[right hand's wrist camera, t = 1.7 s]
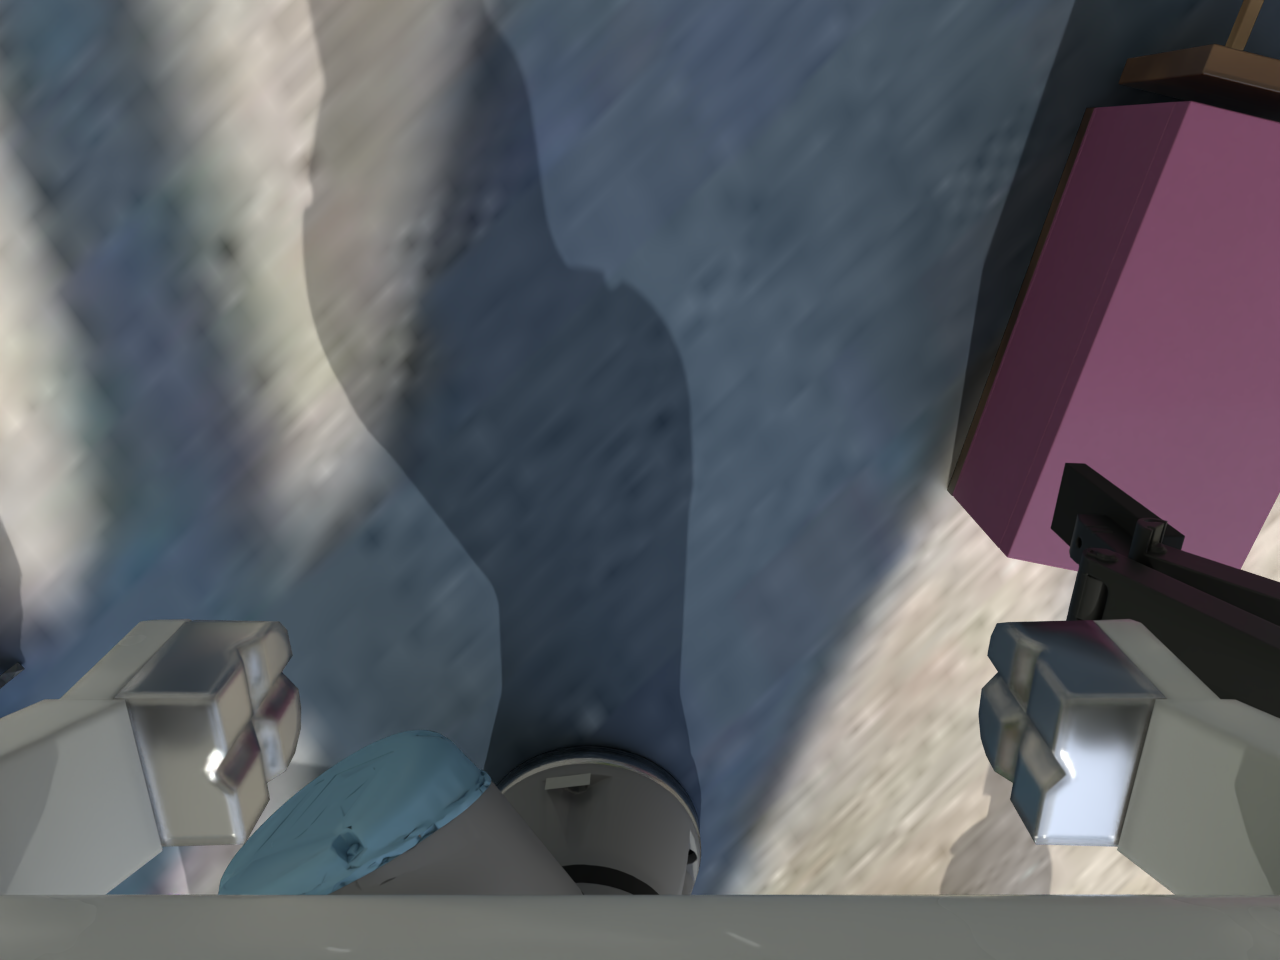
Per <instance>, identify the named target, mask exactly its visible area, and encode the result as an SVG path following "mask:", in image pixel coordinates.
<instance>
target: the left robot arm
mask: <svg viewBox="0 0 1280 960" xmlns="http://www.w3.org/2000/svg"><path fill="white" fill-rule="evenodd" d="M1167 522H1168V521H1165V520H1162V519H1161V518H1160V517H1158V516H1157V515H1155V514H1154V513H1153V512H1151V511H1150V510H1149V509H1147V508H1146V507H1144V506H1143V505H1142V504H1140V503H1139V502H1138V501H1136V500H1135V499H1133V498H1132V497H1131V496H1129V495H1128V494H1127V493H1125V492H1124V491H1122V490H1121V489H1120V488H1118V487H1117V486H1116V485H1114V484H1113V483H1111V482H1110V481H1109V480H1107V479H1106V478H1105V477H1103V476H1102V475H1100V474H1099V473H1098V472H1096V471H1095V470H1094V469H1092V468H1091V467H1089V466H1088V465H1087V464H1085V463H1065V466H1064V471H1063V475H1062V480H1061V484H1060V488H1059V493H1058V497H1057V502H1056V506H1055V511H1054V515H1053V520H1052V524H1051V529H1052V530H1053V531H1054V532H1055V533H1056V534H1057V535H1058V536H1059V537H1060V538H1061V539H1062V540H1063V541H1064V542H1065V543H1066V544H1067V545H1069V546H1070V549H1069V554H1070V558H1071V559H1072V560H1073V561H1075V562H1076V563H1077V564H1079V569H1078V573H1077V577H1076V581H1075V585H1074V589H1073V594H1072V598H1071V602H1070V606H1069V611H1068V615H1067V619H1066V621H1080V620H1114V619H1131V620H1134V621H1137V622H1140V623H1142V624H1143V625H1144V626H1145V627H1146V628H1147V629H1148V630H1149V631H1150V632H1151V633H1152V634H1153V635H1154V636H1155V637H1156V638H1157V639H1158V640H1159V641H1161V642H1162V643H1163V644H1164V645H1165V646H1166V647H1167V648H1168V649H1169V650H1170V651H1171V652H1172V653H1173V654H1174V655H1175V656H1176V657H1177V658H1178V659H1179V660H1180V661H1181V662H1182V663H1183V664H1184V665H1185V666H1186V667H1187V668H1189V669H1190V670H1191V671H1192V672H1193V673H1194V674H1195V675H1196V676H1197V677H1198V678H1199V679H1200V680H1201V681H1202V682H1203V683H1204V684H1205V685H1206V686H1207V687H1208V688H1209V689H1210V690H1211V691H1212V692H1213V693H1214V694H1216V695H1217V696H1218V697H1219V698H1220V699H1233V700H1238V701H1240V702H1242V703H1245V704H1247V705H1249V706H1252V707H1254V708H1256V709H1259V710H1261V711H1263V712H1266V713H1268V714H1270V715H1273V716H1275V717H1277V718H1280V582H1277V581H1274V580H1271V579H1268V578H1265V577H1262V576H1259V575H1256V574H1253V573H1249V572H1246V571H1243V570H1240V569H1237V568H1234V567H1231V566H1228V565H1225V564H1222V563H1219V562H1216V561H1213V560H1210V559H1207V558H1204V557H1201V556H1198V555H1195V554H1191V553H1188V552H1185V551H1182V550H1181V549H1182V545H1183V542H1184V538H1185V536H1184V535H1183V534H1182V533H1180V532H1179V531H1178V530H1176V529H1175V528H1173V527H1172V526H1171V525H1169V524H1168V523H1167ZM700 860H701V842H700V830H699V823H698V818H697V814H696V811H695V808H694V806H693V803H692V802H691V800H690V798H689V796H688V795H687V793H686V792H685V790H684V789H683V788H682V786H681V785H680V784H679V783H678V782H677V781H676V780H675V779H674V778H673V777H672V776H671V775H670V774H669V773H667V772H666V771H665V770H663V769H662V768H661V767H659V766H658V765H656V764H654V763H653V762H651V761H649V760H647V759H645V758H643V757H640V756H638V755H635V754H633V753H629V752H626V751H623V750H618V749H614V748H608V747H599V746H577V747H567V748H562V749H557V750H553V751H550V752H546V753H544V754H541V755H538V756H536V757H534V758H532V759H530V760H528V761H526V762H524V763H522V764H521V765H519V766H518V767H516V768H515V769H514V770H512V771H511V772H510V773H509V774H508V775H506V776H505V777H504V778H503V779H502V780H501V782H500V783H499V784H498V785H497V786H496V785H495V784H494V783H493V782H492V781H491V777H490V776H489V775H488V774H487V772H485V771H483V770H480V769H478V768H477V767H476V766H475V765H474V764H473V763H472V762H471V761H470V760H469V759H468V758H467V757H466V756H465V755H464V754H463V753H462V752H461V751H460V750H459V749H458V748H457V747H456V745H455V744H454V743H453V742H452V741H450V740H449V739H448V738H446V737H444V736H443V735H441V734H439V733H437V732H433V731H428V730H413V731H406V732H401V733H398V734H394V735H391V736H389V737H386V738H384V739H381V740H379V741H376V742H374V743H372V744H370V745H368V746H366V747H364V748H362V749H361V750H359V751H357V752H355V753H353V754H352V755H350V756H348V757H347V758H345V759H343V760H342V761H340V762H339V763H337V764H336V765H334V766H333V767H331V768H330V769H328V770H327V771H325V772H324V773H322V774H321V775H320V776H319V777H317V778H316V779H314V780H313V781H312V782H310V783H309V784H308V785H306V786H305V787H304V788H303V789H301V790H300V791H299V792H298V793H296V794H295V795H294V796H293V797H292V798H290V799H289V800H288V801H287V802H286V803H284V804H283V805H282V806H281V807H280V808H279V809H278V810H277V811H276V812H275V813H274V814H273V815H271V816H270V817H269V818H268V819H267V820H266V821H265V822H264V823H263V824H262V825H261V826H260V827H259V828H258V829H257V831H256V832H255V833H254V834H253V835H252V836H251V837H250V838H249V839H248V840H247V842H246V843H245V844H244V845H243V846H242V848H241V849H240V850H239V851H238V852H237V854H236V855H235V856H234V858H233V859H232V861H231V862H230V864H229V865H228V867H227V869H226V870H225V872H224V874H223V876H222V879H221V882H220V886H219V892H218V895H691V892H692V889H693V886H694V883H695V880H696V877H697V874H698V870H699V866H700Z"/></svg>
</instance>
